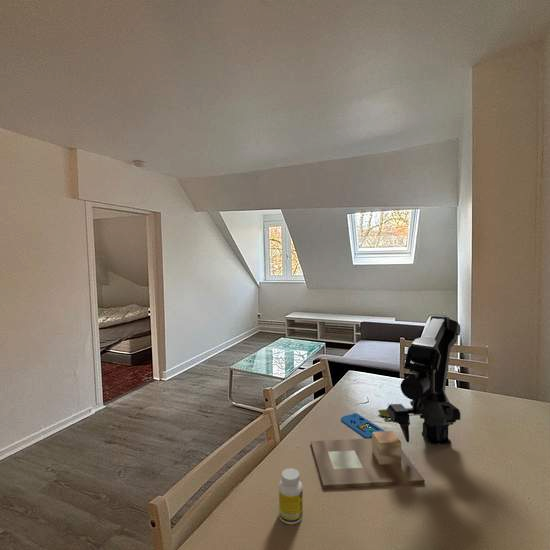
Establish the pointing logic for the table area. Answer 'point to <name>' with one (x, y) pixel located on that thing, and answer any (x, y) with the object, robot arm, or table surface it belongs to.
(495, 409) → the table surface
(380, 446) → the beech block
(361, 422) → the handheld gaming device
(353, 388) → the table surface
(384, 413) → the lily flower
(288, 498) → the supplement bottle
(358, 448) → the walnut board
